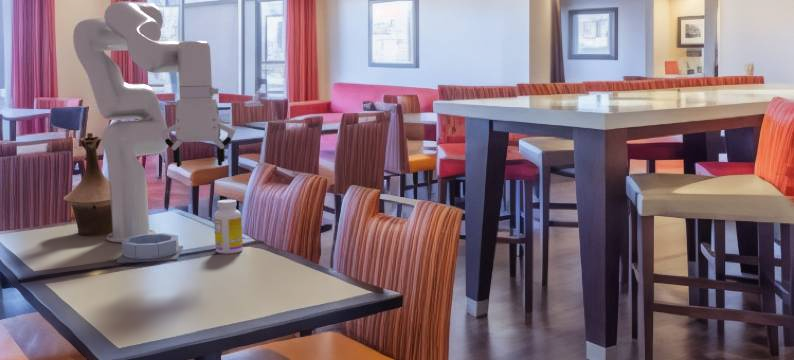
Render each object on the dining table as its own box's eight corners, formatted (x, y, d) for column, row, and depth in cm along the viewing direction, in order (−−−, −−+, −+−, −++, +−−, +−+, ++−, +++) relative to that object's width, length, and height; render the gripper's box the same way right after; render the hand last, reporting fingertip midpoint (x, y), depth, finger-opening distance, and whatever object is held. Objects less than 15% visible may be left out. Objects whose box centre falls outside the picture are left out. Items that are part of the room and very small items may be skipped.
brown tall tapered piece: (64, 229, 236) (57, 131, 232) (126, 223, 243) (120, 129, 239) (67, 241, 220) (60, 137, 216) (134, 234, 227) (127, 133, 223)
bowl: (128, 248, 209) (127, 234, 208) (180, 246, 211) (180, 232, 210) (119, 260, 196) (118, 246, 196) (175, 258, 198) (174, 243, 198)
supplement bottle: (246, 248, 209) (244, 198, 208) (238, 254, 203) (236, 203, 201) (220, 248, 210) (218, 198, 208) (212, 254, 204) (209, 203, 202)
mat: (126, 249, 209) (126, 248, 209) (183, 247, 212) (182, 245, 212) (116, 263, 196) (116, 261, 196) (177, 260, 198) (177, 258, 198)
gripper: (234, 92, 199) (237, 162, 202) (161, 93, 197) (165, 164, 200) (231, 93, 192) (235, 166, 194) (155, 95, 190) (160, 168, 192)
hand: (199, 165), depth 197 cm, fingers open, 9 cm apart
